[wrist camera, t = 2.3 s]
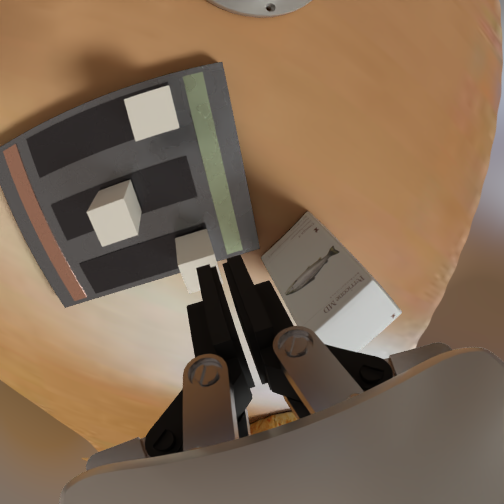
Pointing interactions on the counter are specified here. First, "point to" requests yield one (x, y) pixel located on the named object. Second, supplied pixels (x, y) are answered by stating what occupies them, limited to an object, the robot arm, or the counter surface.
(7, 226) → the counter surface
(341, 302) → the supplement box
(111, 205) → the block
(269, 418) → the croissant
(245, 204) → the panel
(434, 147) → the counter surface
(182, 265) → the block
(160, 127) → the block
